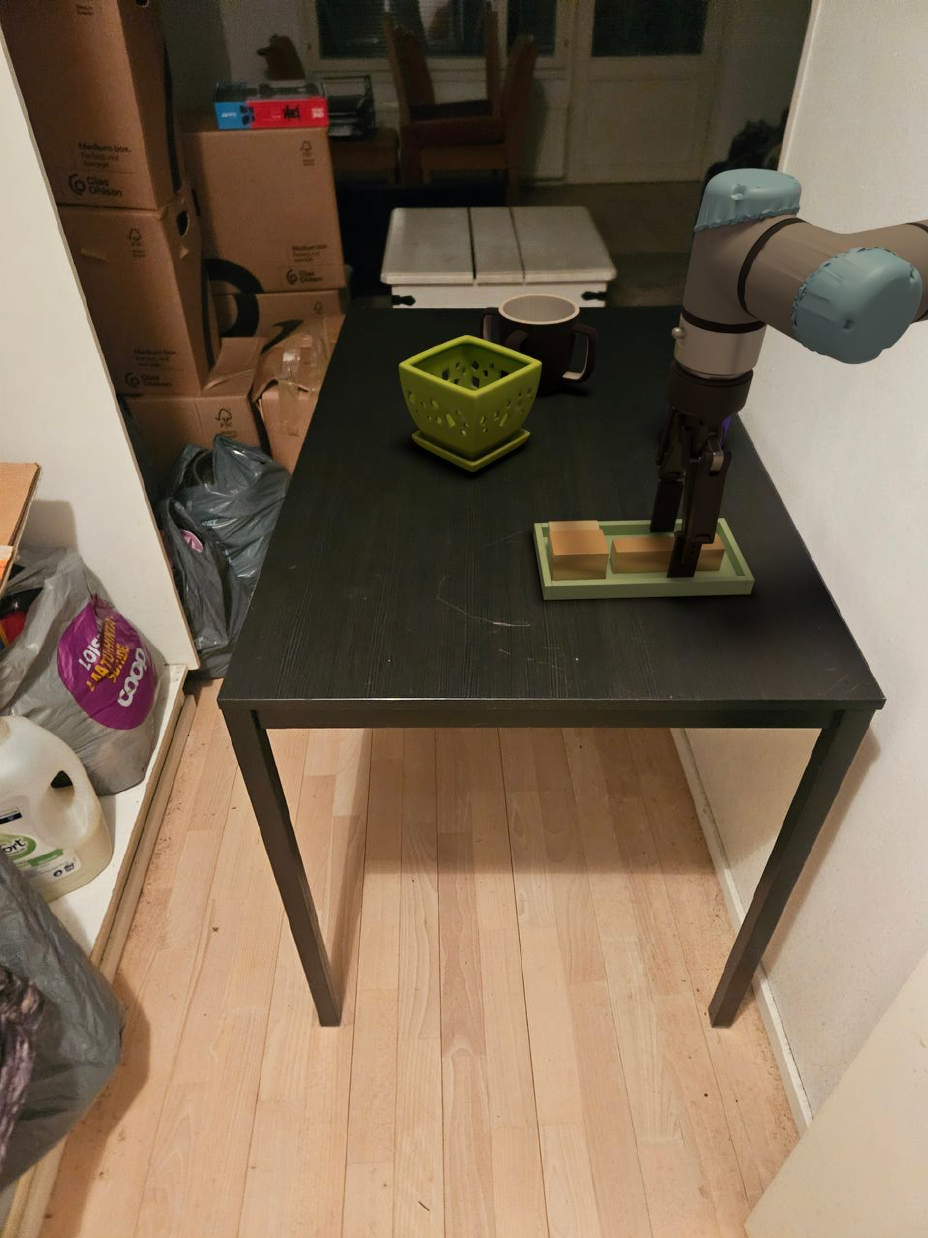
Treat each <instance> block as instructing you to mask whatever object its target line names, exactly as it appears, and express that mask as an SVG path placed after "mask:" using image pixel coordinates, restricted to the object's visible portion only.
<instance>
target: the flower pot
mask: <svg viewBox="0 0 928 1238" xmlns="http://www.w3.org/2000/svg"><path fill="white" fill-rule="evenodd" d="M475 362H476V363H477V364H478V368H477V369H475V368H474V367H473V364H474V363H475ZM492 365H493V366H492ZM541 369H542V363H541V362H540V361H538V360H536V359H534V358H531V357H529V356H526V355H524V354H521V353H518V352H516V351H513V350H511V349H508V348H505V347H502V346H499V344H496V343H494V342H492V341H491V342H488V341H485V340H482V339H480V337H476V336H473V335H469V334H465V335H463V336H459V337H456V338H453V339H451V340H449V341H446V342H444V343H442V344H438V345H436V346H433V347H432V348H428V349H427V350H425V351H423V352H419V353H418V354H416V355H413V356H411V357H409V358H407V359H405V360H403V361H402V362H400V363H399V365H398V374H399V381H400V385H401V389H402V390H401V391H402V392H403V393H402V394H403V397H404V401H405V403H406V407H407V409H408V411H409V415H410V416H411V419H413V422H414V424H415V425H416V426H417V428H418V430H417V431H415V432H414V433H412V434H411V438H412V440H413V441H414V442H415V443H416V444H417V445H418V446H419V447H421V448H423V449H425V450H426V451H428V452H430V453H432V454H434V455H435V456H438V457H440V458H442V459H443V460H446V461H448V462H450V463H452V464H454V465H455V466H458V467H459V468H461V469H464V470H466V471H468V472H471V473H475V472H477V471H478V470H479V471H480V469H483V468H485V467H486V466H488V465H489V464H491V463H493V462H494V461H496V460H497V459H500V458H503V456H505V455H507V454H509V453H510V452H512V451H514V450H516V449H518V448H519V447H520V446H522V445H523V444H524V443H525V442H526V441H527V440H528V439H529V437H530V435H531V433H530V432H529V431H528V430H526V429H524V428H522V426H523V424H524V423H525V421H526V419H527V417H528V415H529V414H530V412H531V409H532V407H533V404H534V402H535V399H536V397H537V394H536V393H537V389H538V385H539V381H540V376H541ZM503 371H506V372H508V373H509V375H508V376H506V377H504V376H503V377H502V372H503ZM444 372H447V376H448V377H447V378H448V379H447V380H446V379H443V373H444ZM486 372H487V376H486ZM474 378H476V379H478V380H479V383H478V387H477V386H475V385H473V384H474ZM455 380H457V383H455Z"/></svg>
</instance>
